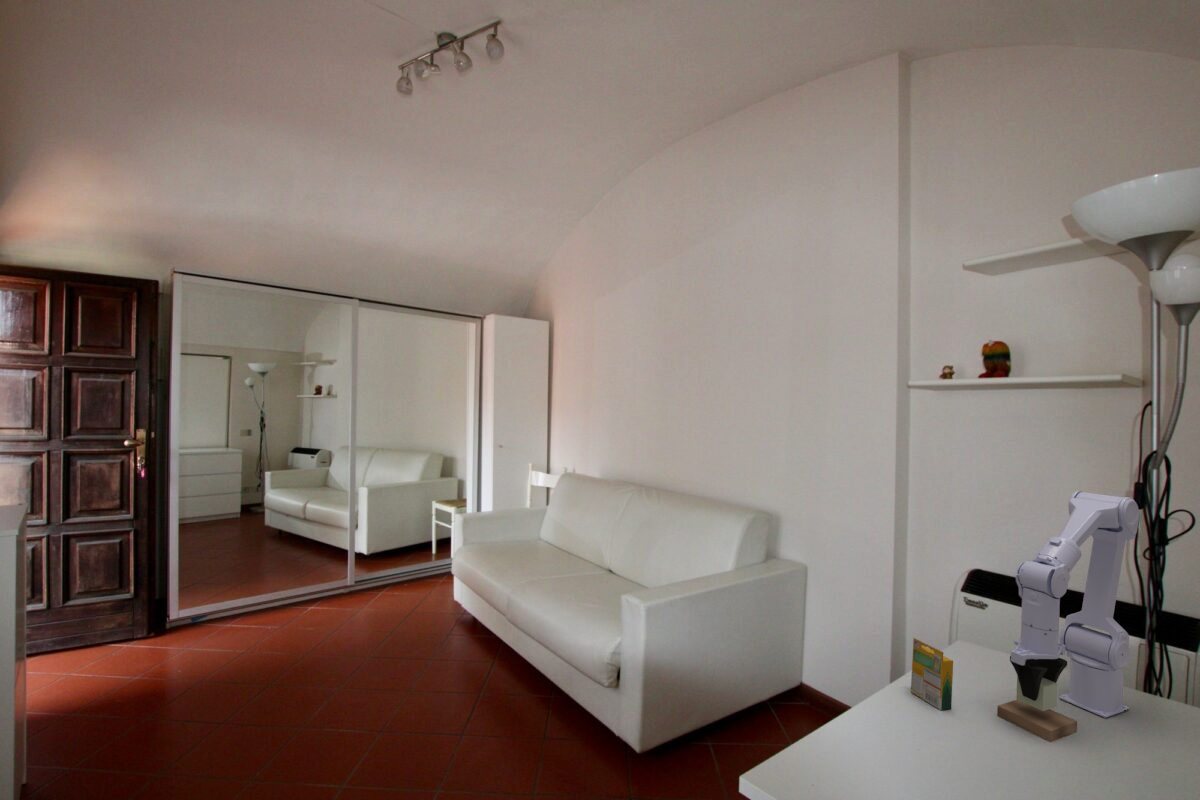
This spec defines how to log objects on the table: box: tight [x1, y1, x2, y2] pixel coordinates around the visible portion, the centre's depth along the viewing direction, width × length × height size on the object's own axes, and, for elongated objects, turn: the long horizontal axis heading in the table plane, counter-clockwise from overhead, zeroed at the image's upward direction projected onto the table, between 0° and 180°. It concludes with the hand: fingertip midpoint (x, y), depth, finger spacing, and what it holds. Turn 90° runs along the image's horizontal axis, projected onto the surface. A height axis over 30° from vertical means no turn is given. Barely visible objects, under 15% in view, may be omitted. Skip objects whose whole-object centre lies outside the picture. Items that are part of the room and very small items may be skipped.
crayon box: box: [910, 637, 954, 711], centre depth 113 cm, size 7×3×12 cm, turn 17°
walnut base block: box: [996, 699, 1078, 743], centre depth 106 cm, size 9×9×2 cm
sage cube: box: [1016, 676, 1058, 711], centre depth 106 cm, size 4×4×4 cm
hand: (1037, 695), depth 106 cm, fingers closed on sage cube, 4 cm apart
